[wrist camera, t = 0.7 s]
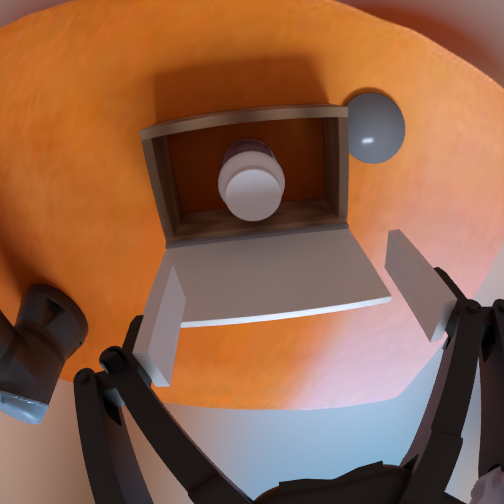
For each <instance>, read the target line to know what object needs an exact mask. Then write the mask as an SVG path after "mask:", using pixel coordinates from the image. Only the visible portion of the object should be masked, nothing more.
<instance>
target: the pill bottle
mask: <svg viewBox="0 0 504 504" xmlns="http://www.w3.org/2000/svg"><path fill="white" fill-rule="evenodd" d="M284 187H285V178H284V174H283V171H282V169H281V167H280V165H279V163H278V161H277V159H276V157H275V155H274V153H273V151H272V150H271V148H270V147H269V146H268V145H267V144H266V143H264V142H262V141H260V140H258V139H254V138H243V139H239V140H237V141H235V142H233V143H232V144H231V145H230V146H229V147H228V148H227V149H226V151H225V153H224V155H223V158H222V163H221V168H220V173H219V179H218V188H219V193H220V195H221V197H222V199H223V201H224V202H225V203H226V204H227V206H228V208H229V209H230V211H231V212H232V213H233V214H234V215H235V216H237V217H239V218H240V219H243V220H247V221H259V220H263V219H265V218H267V217H269V216H270V215H272V214H273V213H274V212H275V211H276V209H277V208H278V206H279V204H280V201H281V197H282V194H283V192H284Z"/></svg>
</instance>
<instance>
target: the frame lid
mask: <svg viewBox="0 0 504 504" xmlns="http://www.w3.org/2000/svg"><path fill="white" fill-rule="evenodd" d="M348 228H349V225H348V224H347V223H340V224H329V225H319V226H310V227H300V228H291V229H281V230H272V231H263V232H254V233H245V234H236V235H228V236H219V237H211V238H203V239H194V240H186V241H178V242H170V243H166V251H165V254H164V256H163V259H162V261H161V264H160V267H159V269H158V272H157V275H156V277H155V280H154V283H153V286H152V289H151V291H150V294H149V297H148V300H147V303H146V306H145V309H144V312H143V315H144V314H145V311H146V308H147V305H148V302H149V299H150V296H151V293H152V290H153V288H154V285H155V282H156V279H157V276H158V274H159V271H160V268H161V266H165V265H171V264H173V266H174V268H175V271H176V274H177V277H178V279H179V282H180V285H181V287H182V290H183V293H184V295H185V298H186V301H185V306H184V311H183V317H182V322H181V327H180V328H185V327H200V326H214V325H226V324H237V323H248V322H257V321H267V320H275V319H284V318H292V317H300V316H307V315H314V314H321V313H328V312H335V311H341V310H347V309H353V308H359V307H365V306H371V305H376V304H382V303H387V302H390V301H391V297H392V296H391V294H390V293H389V291H388V289H387V288H386V286H385V284H384V283H383V281H382V279H381V278H380V276H379V275H378V273H377V271H376V270H375V268H374V267H373V265H372V263H371V262H370V260H369V259H368V257H367V256H366V254H365V253H364V251H363V249H362V248H361V246H360V245H359V243H358V242H357V240H356V239H355V237H354V236H353V234H352V233H351V232H350V230H349V229H348Z"/></svg>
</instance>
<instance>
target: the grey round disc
mask: <svg viewBox="0 0 504 504" xmlns="http://www.w3.org/2000/svg"><path fill="white" fill-rule="evenodd" d="M345 107H348V134H349V153H350V154H351V155H352V156H354V157H355V158H357V159H358V160H360V161H363V162H366V163H373V164H375V163H381V162H384V161H387V160H388V159H390V158H391V157H393V156H394V155H395V154H396V153H397V152H398V150H399V149H400V147H401V145H402V143H403V140H404V136H405V122H404V118H403V115H402V113H401V111H400V109H399V108H398V106H397V105H396V104H395V103H394V102H393V101H392V100H391V99H389V98H388V97H386V96H384V95H381V94H377V93H363V94H360V95H358V96H355V97H354V98H352V99H351V100H350V101H349V102H348V103H347V104H346V105H345Z"/></svg>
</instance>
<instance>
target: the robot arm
mask: <svg viewBox="0 0 504 504" xmlns="http://www.w3.org/2000/svg"><path fill="white" fill-rule="evenodd" d="M385 269H386V270H387V272H388V273H389V275H390V276H391V278H392V280H393V281H394V283H395V284H396V286H397V287H398V289H399V290H400V292H401V294H402V295H403V297H404V298H405V300H406V302H407V303H408V305H409V307H410V308H411V310H412V312H413V313H414V315H415V317H416V318H417V320H418V322H419V323H420V325H421V327H422V329H423V330H424V332H425V334H426V336H427V338H428V339H429V341H430V342H432V341H435V340H438V339H441V338H442V336H443V334H444V332H445V331H446V333H447V334H448V337H447V339H446V341H445V344H444V346H443V348H442V349H443V350H444V351H443V355H442V359H441V363H440V367H439V370H438V374H437V377H436V380H435V384H434V387H433V390H432V393H431V396H430V399H429V402H428V404H427V407H426V410H425V413H424V415H423V418H422V421H421V423H420V426H419V428H418V431H417V433H416V435H415V438H414V440H413V442H412V444H411V447H410V449H409V451H408V453H407V454H406V455H405V457H404V458H403V460H402V462H401V464H400V465H399V466H396V465H387V464H385V465H383V462H382V461H379V462H376V463H372V464H369V465H365V466H362V467H358V468H356V469H354V470H352V471H350V472H348V473H346V474H344V475H342V476H340V477H338V478H335V479H332V480H325V479H300V480H292V481H284V482H279V486H277V487H274V488H272V489H270V490H268V491H266V492H264V493H263V494H261V495H260V496H259V497H257V498H256V499H255V500H254V501H253V500H252V499H251V498H250V497H248V496H247V495H246V494H245V493H244V492H243V491H242V490H241V489H239V488H238V487H237V486H236V485H235V484H234V483H233V482H232V481H231V480H230V479H229V478H228V477H227V476H226V475H225V474H224V473H223V472H222V471H221V470H220V469H219V468H218V467H217V466H216V465H214V463H213V462H212V461H211V460H210V459H209V458H208V457H207V456H206V455H205V454H204V453H203V452H202V450H201V449H200V448H199V447H198V446H197V445H196V444H195V443H194V441H193V440H192V439H191V438H190V437H189V436H188V434H187V433H186V432H185V431H184V430H183V429H182V428H181V426H180V425H179V424H178V423H177V422H176V420H175V419H174V418H173V416H172V415H171V414H170V412H169V411H168V410H167V409H166V407H164V405H163V403H162V402H161V401H160V399H159V398H158V397H157V395H156V394H155V393H154V391H153V390H152V389H151V382H153V383H154V384H155V386H156V387H162V386H170V385H171V378H172V372H173V366H174V360H175V354H176V349H177V343H178V338H179V332H180V327H181V322H182V317H183V311H184V306H185V301H186V298H185V295H184V293H183V290H182V287H181V285H180V282H179V279H178V277H177V274H176V271H175V268H174V266H173V264H171V265H165V266H161V268H160V271H159V274H158V276H157V279H156V282H155V285H154V288H153V290H152V293H151V296H150V299H149V302H148V305H147V308H146V311H145V314H144V315H139V316H136V317H135V318H134V319H133V320H132V322H131V323H130V326H129V329H128V332H127V335H126V338H125V341H124V344H123V347H122V348H121V347H118V346H111V347H109V348H107V349H106V350H104V351H103V352H102V354H101V355H100V358H99V362H100V365H101V366H102V367H103V368H104V371H101V372H97V373H95V372H94V371H93V370H92V369H90V368H84V369H81V370H80V371H78V373H77V374H76V375H75V377H74V382H73V383H74V395H75V404H76V413H77V420H78V428H79V434H80V439H81V446H82V451H83V456H84V460H85V465H86V470H87V473H88V478H89V482H90V486H91V490H92V493H93V496H94V500H95V503H96V504H154V503H153V501H152V498H151V496H150V494H149V491H148V489H147V487H146V484H145V481H144V479H143V476H142V473H141V471H140V468H139V465H138V462H137V460H136V456H135V453H134V450H133V447H132V444H131V441H130V438H129V434H128V431H127V427H126V424H125V421H124V416H123V413H122V409H121V406H124V405H126V407H127V408H128V410H129V412H130V413H131V415H132V417H133V418H134V420H135V421H136V423H137V425H138V426H139V428H140V429H141V431H142V432H143V433H144V435H145V437H146V438H147V440H148V441H149V443H150V444H151V445H152V447H153V448H154V450H155V451H156V452H157V454H158V455H159V456H160V458H161V459H162V460H163V462H164V463H165V464H166V466H167V467H168V468H169V470H170V471H171V472H172V473H173V475H174V476H175V477H176V478H177V480H178V481H179V482H180V483H181V484H182V486H183V487H184V488H185V489H186V491H187V492H188V496H189V498H190V499H191V500H192V501H193V503H194V504H466V503H464V502H462V501H460V500H458V499H457V498H455V497H453V496H451V495H449V494H448V493H446V492H444V491H445V489H446V487H447V484H448V482H449V480H450V477H451V475H452V472H453V470H454V467H455V464H456V462H457V459H458V456H459V453H460V450H461V447H462V444H463V438H461V432H462V429H463V426H464V422H465V418H466V415H467V411H468V407H469V402H470V398H471V394H472V389H473V384H474V379H475V374H476V368H477V362H478V357H479V368H480V382H481V437H480V451H479V465H478V473H479V474H478V475H479V479H478V481H477V482H476V484H475V485H474V488H473V489H472V491H471V497H472V500H471V502H470V503H469V504H504V300H503V299H497V300H495V301H494V303H493V305H492V307H481V305H480V304H479V303H478V302H477V301H474V300H471V299H467V298H466V297H465V296H464V294H463V293H462V292H461V290H460V289H459V288H458V287H457V285H456V284H454V282H453V280H452V279H450V277H449V276H448V274H447V273H446V272H445V271H443V270H442V269H440V268H439V267H436V268H433V267H432V266H431V265H430V264H429V263H428V261H427V260H426V259H425V258H424V257H423V255H422V254H421V253H420V252H419V251H418V250H417V249H416V247H415V246H414V245H413V244H412V243H411V242H410V241H409V240H408V238H407V237H406V236H405V235H404V234H403V233H402V232H401V231H400V230H399V229H398V230H392V231H389V233H388V243H387V253H386V261H385ZM87 334H88V325H87V321H86V319H85V317H84V315H83V313H82V312H81V310H80V309H79V308H78V307H77V305H76V304H75V303H74V302H73V301H72V300H71V299H69V298H68V297H67V296H66V295H64V294H63V293H61V292H60V291H58V290H56V289H54V288H52V287H49V286H46V285H40V284H39V285H33V286H31V287H30V288H29V289H28V290H27V291H26V293H25V294H24V296H23V297H22V300H21V305H20V308H19V311H18V315H17V319H16V323H15V325H14V327H13V325H12V324H11V323H10V322H9V320H8V319H7V318H6V317H5V315H4V314H3V313H2V311H1V310H0V410H1V411H3V412H4V413H6V414H8V415H10V416H12V417H14V418H16V419H18V420H20V421H23V422H26V423H29V424H39V423H40V422H41V421H42V419H43V417H44V415H45V413H46V410H47V409H48V408H49V402H50V400H51V397H52V394H53V391H54V389H55V386H56V383H57V381H58V378H59V376H60V373H61V371H62V368H63V366H64V364H65V362H66V360H67V359H68V358H69V357H70V356H71V355H72V354H73V353H74V352H75V351H76V350H77V349H78V348H79V347H80V346H81V345H82V344H83V343H84V341H85V338H86V336H87Z"/></svg>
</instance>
